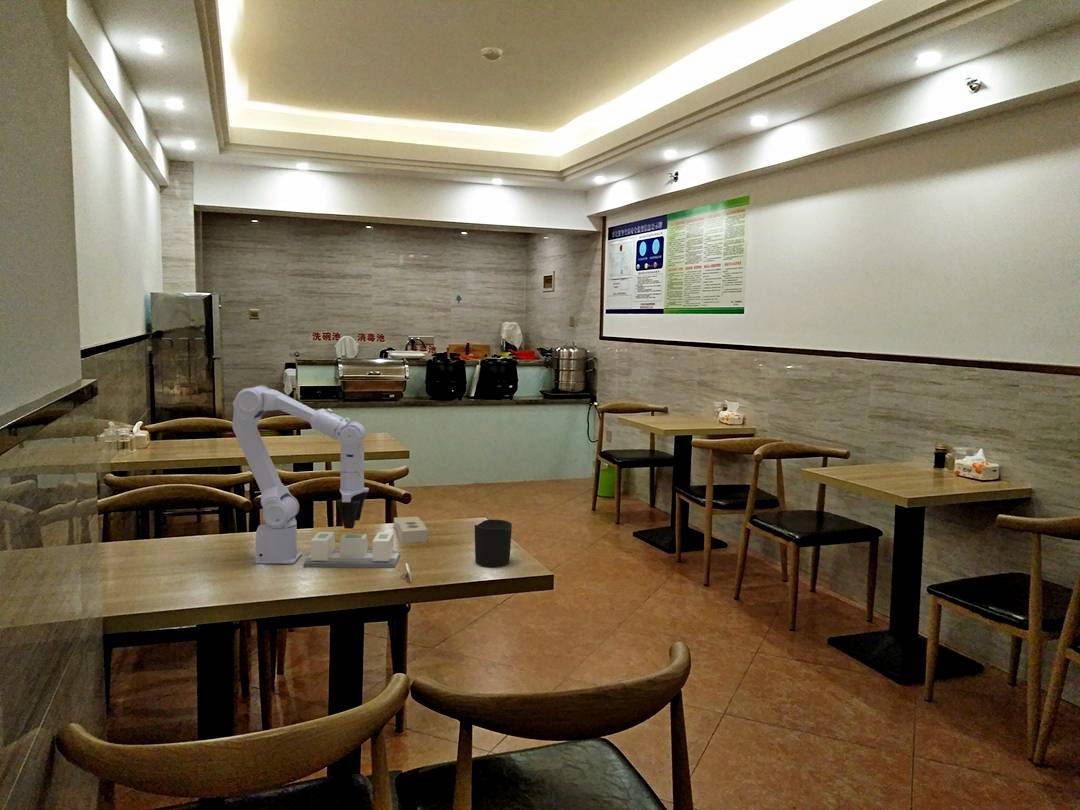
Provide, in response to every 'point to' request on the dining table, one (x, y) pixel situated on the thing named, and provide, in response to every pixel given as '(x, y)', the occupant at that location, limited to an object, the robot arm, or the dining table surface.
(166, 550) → the dining table surface
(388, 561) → the grey stepped base
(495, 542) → the pen holder
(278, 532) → the robot arm
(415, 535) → the electrical outlet
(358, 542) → the block
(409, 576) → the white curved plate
